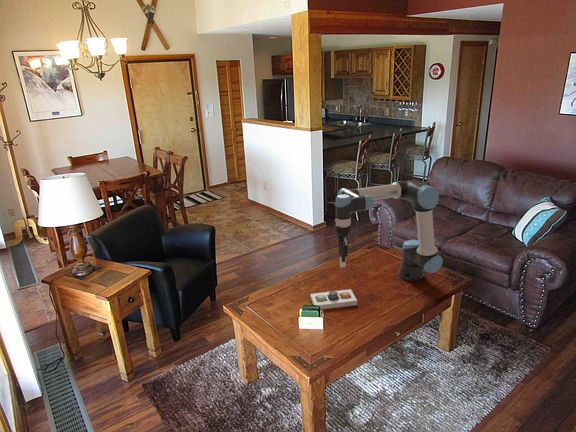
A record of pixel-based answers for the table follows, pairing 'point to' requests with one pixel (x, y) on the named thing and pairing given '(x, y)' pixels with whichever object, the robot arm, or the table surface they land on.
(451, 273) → the table surface
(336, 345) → the table surface
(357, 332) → the table surface
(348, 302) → the board
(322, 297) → the button sage
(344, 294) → the button terracotta
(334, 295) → the button charcoal
